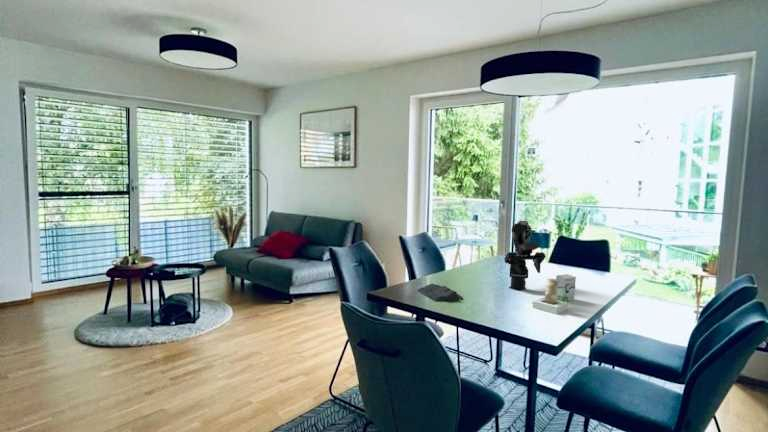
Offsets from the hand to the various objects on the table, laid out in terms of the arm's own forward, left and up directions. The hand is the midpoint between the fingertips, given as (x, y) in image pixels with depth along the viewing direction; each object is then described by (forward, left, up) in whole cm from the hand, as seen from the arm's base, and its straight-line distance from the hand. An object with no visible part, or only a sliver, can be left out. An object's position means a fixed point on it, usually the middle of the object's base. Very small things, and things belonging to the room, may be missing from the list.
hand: (530, 272), depth 200 cm
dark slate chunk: (-32, -27, -14) cm, 44 cm away
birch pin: (+12, -2, -14) cm, 18 cm away
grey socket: (+12, -2, -14) cm, 18 cm away
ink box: (+10, +17, -14) cm, 24 cm away
